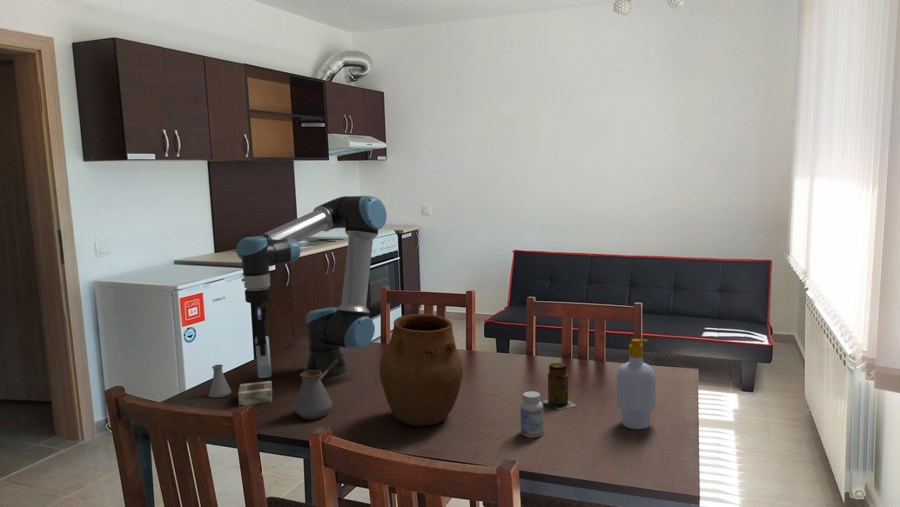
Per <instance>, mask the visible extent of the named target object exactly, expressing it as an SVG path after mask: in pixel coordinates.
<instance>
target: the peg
mask: <svg viewBox="0 0 900 507" xmlns="http://www.w3.org/2000/svg"><path fill="white" fill-rule="evenodd" d="M268 336H269V335H266V341H267V343H266V344H267V351H268V363H269V365H265V366H259V356H258V346H255V354H256V367H257V377H258V378H260V379H266V378H270V377H272V375H273V374H272V364H271V363H272V360H271V352H270V350H271V349H270V340H269V339H270V338H269V337H268ZM254 342H255V344H257V336H256V337H255V338H254ZM255 344H254V345H255Z"/></svg>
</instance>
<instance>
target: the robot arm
mask: <svg viewBox="0 0 900 507" xmlns="http://www.w3.org/2000/svg"><path fill="white" fill-rule="evenodd" d="M387 215H388V214H387V210H386V206H385V205H384V203H383V202H382V200H381V199H380V198H378V197H376V196H371V195H354V196H353V195H350V196H346V195H345V196H340V197H337V198H334V199H332V200H328V201H327V202H324V203H321V204H320V205H318V206H315V207H314V209H313V210H312V211H311V212H309V213H306V214H305V215H302V216H300V217H298V218H296V219H293V220H291V221H289V222H287V223H284V224H282V225H280V226H278V227H275V228H273V229H271V230H269V231H266V232H264V233H261V234H259V235H257V236H247V237H243V238H242V239H240V240H239V241H238V243H237V244H236V254H237V255H236V256H238V258H240V260H241V266H242V271H243V272H242V275H243V278H241V282H244V283H243V284H244V285H243V287H244V289H245V290H244V296H245V297H244V298H245V302H246V303H248V304H254V306H252V309H251V310H252V314H253V322H254V323H255V330H256V337H257V344H254V346H255V347H256V346H258V356H259V366H265V365H269V363H268V351H267V344H266V343H267V341H266V336H268V337H269V335H267V330H266V321H267V306H266V305H264V303H265V302H266V303H267V302H269V301H271V300H272V293H271V291H272V290H271V289H272V288H270V286H271V276H270V267H273V266H278V265H283V264H289V263H292V262H296V261H298V259H299V258H300V257H301V253H302V252H301V246H300V243H299V242H302V241H303V240H306V239H308V238H310V237H312V236H314V235H316V234H318V233H321V232H329V231H331V230H334V229H344V233H345V234H346V235H347V236H348V241H347V251H346V262H345V268H344V270H345V271H344V278H343V279H344V280H343V287H342V295H341V296H342V297H341V304H340V305H339V306H338V307H332V306H331V307H325V308H319V309H314V310H311V311H309V312H308V313H307V314H306V324H305V325H306V337H307V345H308V346H307V347H308V353H307V357H306V362H305V365H304V372H305V371H311V370H318V371H321V372H322V374H323V373H324V372H325V371H326V370H327V368H328V367H329V366H330V365H331V364H332V363H333V362H334V361H335V360H336V359H337V357H339V356H340V355H341V354H344V353H343V351H342V348H346V349H348V350H361V349H364V348H366V347H367V346H368V345H369V344H370V343H371V341H372V340H373V338H374V336H375V331H376V330H375V329H376V328H375V327H376V326H375V323H374V321H373V319H372V318H370V309H368V308H367V299H368V291H369V290H368V288H369V281H370V280H369V279H370V270H371V262H372V251H373V243H374V242H373V241H374V239H375V238H376V237H378V236H379V235H378V234H379V230H381V229H382V228H383V227H384V225H386V222H387ZM343 358H345V354H344V355H343ZM343 358H342V357H341V360H339V361H338V362H337V364H336V365H335V366H334V367H333V368H332V369H331V370H330V371H329V372H327V374H326V375H325V376H324V377H325V378H326V377H332V376H337V375H341V374H343V373H345V372H346V371H347V369H348V365H347V364H348V363H347V361H346V359H343ZM322 374H321V375H322ZM324 377H323V378H324Z"/></svg>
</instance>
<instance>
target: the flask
mask: <svg viewBox="0 0 900 507" xmlns="http://www.w3.org/2000/svg"><path fill="white" fill-rule="evenodd" d="M223 366H224V365H223V364H214V365H213V366H212V367H211V369H212V370H213V374H212V376H213V377H212V381H211V385H210V388H209V392H208V397H209V398H214V399H215V398H217V399H218V398H224V397H226V396H229V395H231V393H232V389H231V388H230V386H229V384H228V382H227V380H226V377H225V376H224V372H223Z"/></svg>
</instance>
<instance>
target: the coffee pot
mask: <svg viewBox="0 0 900 507" xmlns="http://www.w3.org/2000/svg"><path fill="white" fill-rule="evenodd" d="M343 355H344V358H343ZM341 357H342V358H343V359H345V360H346V359H348V356H347V355H346V354H344V353H343V354H341V355H340V356H339V357H337V359H336V360H335V361H334V362H333V363H332V364H331V365H330V366H329V367H328V368H327V370H326V371H325V372H324V373H323V374H322V372H321V371H318V370H311V371H305V370H304V371H302V372H301V373H300V374H299V375H300V377H301V380H302V382H301V386H300V388H299V392H298V394H297V397H296V400H295V403H294V405H293V410H294V412H295V413H296V414H297V415H298V416H300V417H301V418H303V419H304V420H305V419H306V420H315V419H316V420H317V419H321V418H323V417H325V416H326V415H327V414H328V412H330V411H331V409H332V406H333V400H332V399H331V397H330V396H329V393H328V391H327V390H326V388H325V386H324V384H323V382H322V379H323V378H324V376H325V375H326V374H327V372H329V371H330V370H331V369H332V368H333V367H334V366H335V365H336V364H337V362H338V361H339V360H341ZM345 357H346V358H345ZM321 374H322V375H321Z"/></svg>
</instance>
